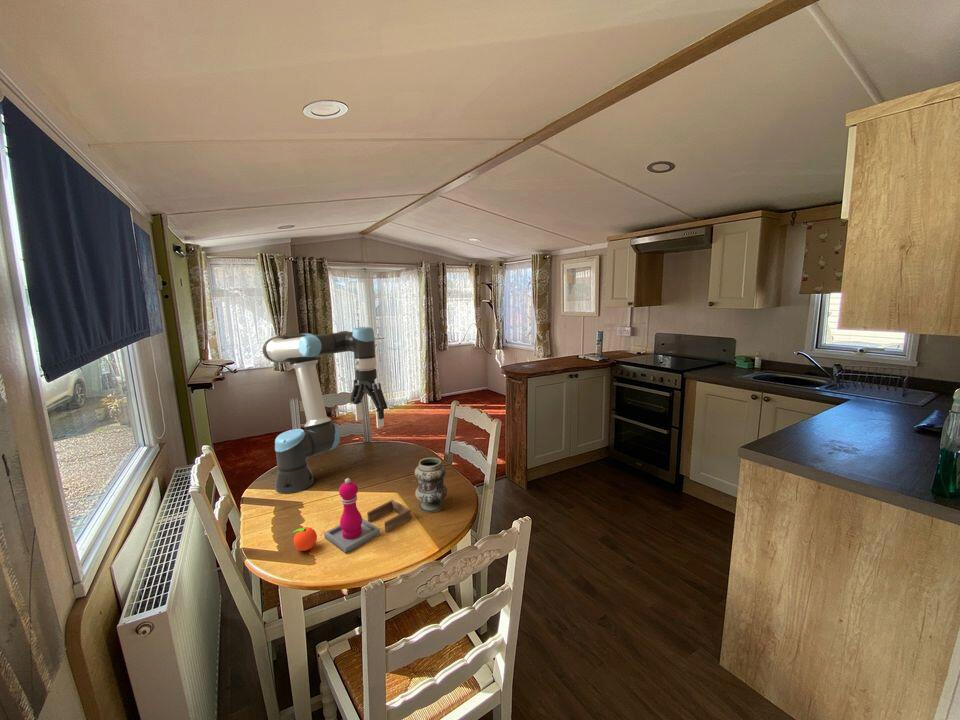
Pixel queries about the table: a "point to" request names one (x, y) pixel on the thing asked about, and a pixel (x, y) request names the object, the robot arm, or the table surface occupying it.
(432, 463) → the apothecary jar
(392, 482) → the table surface
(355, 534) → the pepper mill
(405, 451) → the table surface
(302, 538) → the clementine
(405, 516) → the cubby
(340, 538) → the tray
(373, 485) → the table surface
